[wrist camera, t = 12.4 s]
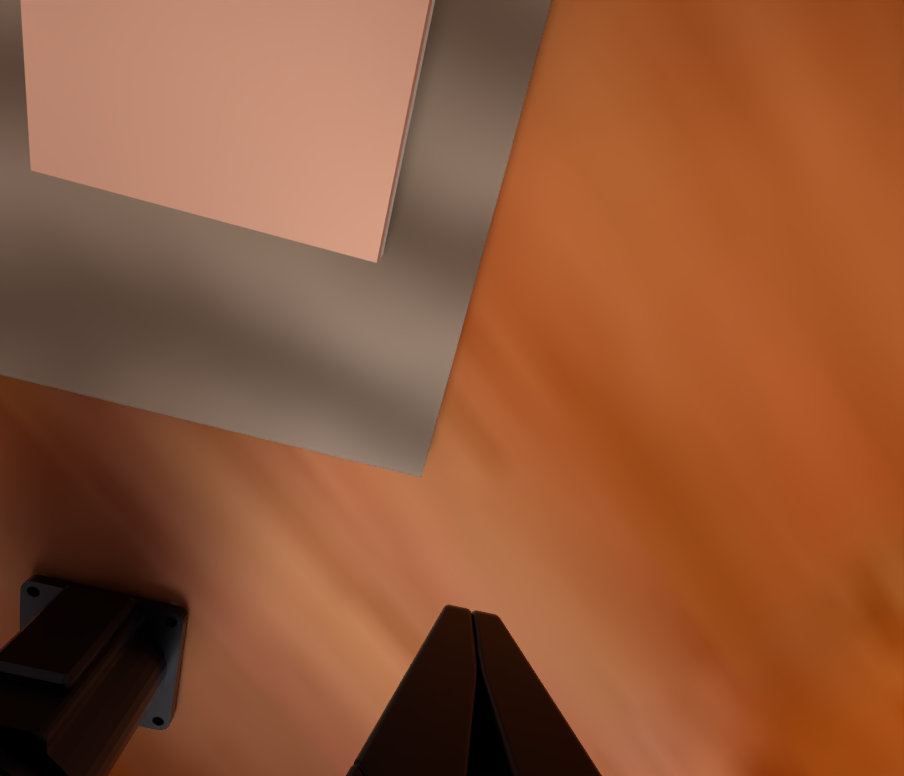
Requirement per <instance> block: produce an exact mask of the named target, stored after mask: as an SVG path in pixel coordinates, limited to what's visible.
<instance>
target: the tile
mask: <svg viewBox="0 0 904 776" xmlns="http://www.w3.org/2000/svg"><path fill="white" fill-rule="evenodd" d="M20 1H21V18H22V34H23V51H24V67H25V84H26V100H27V117H28V133H29V150H30V166H31V170H32V171H35V172H39V173H43V174H46V175H50V176H54V177H58V178H61V179H65V180H69V181H73V182H76V183H80V184H84V185H88V186H91V187H95V188H99V189H102V190H106V191H110V192H114V193H117V194H121V195H125V196H129V197H132V198H136V199H140V200H144V201H147V202H151V203H155V204H158V205H162V206H166V207H170V208H173V209H177V210H181V211H185V212H188V213H192V214H196V215H200V216H203V217H207V218H211V219H214V220H218V221H222V222H226V223H229V224H233V225H237V226H241V227H244V228H248V229H252V230H256V231H259V232H263V233H267V234H270V235H274V236H278V237H282V238H285V239H289V240H293V241H297V242H300V243H304V244H308V245H312V246H315V247H319V248H323V249H327V250H330V251H334V252H338V253H341V254H345V255H349V256H353V257H356V258H360V259H364V260H368V261H371V262H375V263H377V262H378V260H379V259H380V258H381V257H382V255H383V252H384V248H385V243H386V238H387V233H388V228H389V223H390V218H391V213H392V209H393V204H394V199H395V194H396V189H397V184H398V179H399V174H400V169H401V165H402V160H403V155H404V150H405V145H406V140H407V135H408V130H409V126H410V121H411V116H412V111H413V106H414V101H415V96H416V91H417V86H418V82H419V77H420V72H421V67H422V62H423V57H424V52H425V47H426V43H427V38H428V33H429V28H430V23H431V18H432V13H433V8H434V3H435V0H20Z"/></svg>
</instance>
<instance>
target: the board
mask: <svg viewBox="0 0 904 776" xmlns="http://www.w3.org/2000/svg"><path fill="white" fill-rule="evenodd" d="M551 2H552V0H435V3H434V8H433V13H432V18H431V23H430V28H429V33H428V38H427V43H426V47H425V52H424V57H423V62H422V67H421V72H420V77H419V82H418V86H417V91H416V96H415V101H414V106H413V111H412V116H411V121H410V126H409V130H408V135H407V140H406V145H405V150H404V155H403V160H402V165H401V169H400V174H399V179H398V184H397V189H396V194H395V199H394V204H393V209H392V213H391V218H390V223H389V228H388V233H387V238H386V243H385V248H384V252H383V255H382V257H381V258H380V259H379V260H378V262H377V263H375V262H371V261H368V260H364V259H360V258H356V257H353V256H349V255H345V254H341V253H338V252H334V251H330V250H327V249H323V248H319V247H315V246H312V245H308V244H304V243H300V242H297V241H293V240H289V239H285V238H282V237H278V236H274V235H270V234H267V233H263V232H259V231H256V230H252V229H248V228H244V227H241V226H237V225H233V224H229V223H226V222H222V221H218V220H214V219H211V218H207V217H203V216H200V215H196V214H192V213H188V212H185V211H181V210H177V209H173V208H170V207H166V206H162V205H158V204H155V203H151V202H147V201H144V200H140V199H136V198H132V197H129V196H125V195H121V194H117V193H114V192H110V191H106V190H102V189H99V188H95V187H91V186H88V185H84V184H80V183H76V182H73V181H69V180H65V179H61V178H58V177H54V176H50V175H46V174H43V173H39V172H35V171H32V170H31V166H30V150H29V133H28V117H27V100H26V84H25V67H24V51H23V34H22V18H21V1H20V0H0V375H4V376H8V377H12V378H16V379H20V380H24V381H28V382H32V383H36V384H40V385H44V386H49V387H53V388H57V389H61V390H65V391H69V392H73V393H77V394H81V395H85V396H89V397H94V398H98V399H102V400H106V401H110V402H114V403H118V404H122V405H126V406H130V407H134V408H139V409H143V410H147V411H151V412H155V413H159V414H163V415H167V416H171V417H175V418H179V419H184V420H188V421H192V422H196V423H200V424H204V425H208V426H212V427H216V428H220V429H224V430H229V431H233V432H237V433H241V434H245V435H249V436H253V437H257V438H261V439H265V440H269V441H274V442H278V443H282V444H286V445H290V446H294V447H298V448H302V449H306V450H310V451H314V452H318V453H323V454H327V455H331V456H335V457H339V458H343V459H347V460H351V461H355V462H359V463H363V464H368V465H372V466H376V467H380V468H384V469H388V470H392V471H396V472H400V473H404V474H408V475H413V476H417V477H422V473H423V469H424V466H425V462H426V458H427V455H428V451H429V447H430V444H431V440H432V436H433V433H434V429H435V425H436V422H437V418H438V414H439V411H440V407H441V404H442V400H443V396H444V393H445V389H446V385H447V382H448V378H449V374H450V371H451V367H452V363H453V360H454V356H455V352H456V349H457V345H458V341H459V338H460V334H461V331H462V327H463V323H464V320H465V316H466V312H467V309H468V305H469V301H470V298H471V294H472V290H473V287H474V283H475V279H476V276H477V272H478V268H479V265H480V261H481V258H482V254H483V250H484V247H485V243H486V239H487V236H488V232H489V228H490V225H491V221H492V217H493V214H494V210H495V206H496V203H497V199H498V195H499V192H500V188H501V185H502V181H503V177H504V174H505V170H506V166H507V163H508V159H509V155H510V152H511V148H512V144H513V141H514V137H515V133H516V130H517V126H518V122H519V119H520V115H521V112H522V108H523V104H524V101H525V97H526V93H527V90H528V86H529V82H530V79H531V75H532V71H533V68H534V64H535V60H536V57H537V53H538V49H539V46H540V42H541V39H542V35H543V31H544V28H545V24H546V20H547V17H548V13H549V9H550V6H551Z"/></svg>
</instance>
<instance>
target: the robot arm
mask: <svg viewBox="0 0 904 776" xmlns="http://www.w3.org/2000/svg"><path fill="white" fill-rule="evenodd" d="M170 617H172V618H174V619H175V620H173V619H171V618H170ZM186 625H187V613H186V611H185V610H184V609H183V608H181V607H179V606H176V605H171V604H167V603H163V602H158V601H154V600H149V599H145V598H140V597H136V596H131V595H127V594H122V593H118V592H113V591H109V590H104V589H100V588H95V587H91V586H86V585H82V584H78V583H73V582H69V581H64V580H60V579H55V578H51V577H46V576H42V575H34V576H32V577H30V578H29V579H28V580H27V581H26V582H25V583H24V584H23V585H22V586H21V595H20V631H19V632H18V633H17V634H16V635H15V636H14V637H13V638H12V639H11V640H10V641H9V642H8V643H7V644H6V645H5V646H4V647H3V648H2V649H0V776H108V774H109V773H110V771H111V769H112V768H113V766H114V765H115V763H116V761H117V760H118V758H119V756H120V755H121V753H122V752H123V750H124V748H125V747H126V745H127V744H128V742H129V740H130V739H131V737H132V735H133V734H134V732H135V731H136V729H137V727H138V726H142V727H147V728H152V729H156V730H163V729H166V728H167V727H168V726H169V725H170V723H171V721H172V719H173V717H174V713H175V705H176V698H177V691H178V684H179V676H180V669H181V662H182V654H183V647H184V640H185V632H186ZM346 776H602V775H601V774H600V772H599V771H598V769H597V768H596V766H595V764H594V763H593V761H592V760H591V758H590V757H589V755H588V754H587V752H586V751H585V749H584V747H583V746H582V744H581V743H580V741H579V740H578V738H577V737H576V735H575V734H574V732H573V730H572V729H571V727H570V726H569V724H568V723H567V721H566V720H565V718H564V716H563V715H562V713H561V712H560V710H559V709H558V707H557V706H556V704H555V703H554V701H553V699H552V698H551V696H550V695H549V693H548V692H547V690H546V689H545V687H544V686H543V684H542V682H541V681H540V679H539V678H538V676H537V675H536V673H535V672H534V670H533V668H532V667H531V665H530V664H529V662H528V661H527V659H526V658H525V656H524V655H523V653H522V651H521V650H520V648H519V647H518V645H517V644H516V642H515V641H514V639H513V638H512V636H511V634H510V633H509V631H508V630H507V628H506V627H505V625H504V624H503V622H502V620H501V619H500V618H499V617H498V616H497V615H495V614H491V613H486V612H481V611H473V612H472V613H471V611H470V610H469V609H467V608H462V607H458V606H453V605H446V606H445V607H444V608H443V610H442V612H441V613H440V615H439V617H438V619H437V620H436V622H435V624H434V625H433V627H432V629H431V631H430V632H429V634H428V636H427V638H426V639H425V641H424V643H423V644H422V646H421V648H420V650H419V651H418V653H417V655H416V657H415V658H414V660H413V662H412V663H411V665H410V667H409V669H408V670H407V672H406V674H405V675H404V677H403V679H402V681H401V682H400V684H399V686H398V688H397V689H396V691H395V693H394V694H393V696H392V698H391V700H390V701H389V703H388V705H387V706H386V708H385V710H384V712H383V713H382V715H381V717H380V719H379V720H378V722H377V724H376V725H375V727H374V729H373V731H372V732H371V734H370V736H369V738H368V739H367V741H366V743H365V744H364V746H363V748H362V750H361V751H360V753H359V755H358V756H357V758H356V760H355V762H354V765H353V766H351V768H350V769H349V771H348V773H347V775H346Z"/></svg>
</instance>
